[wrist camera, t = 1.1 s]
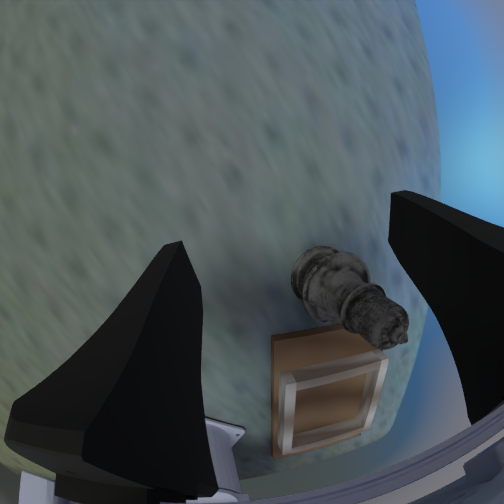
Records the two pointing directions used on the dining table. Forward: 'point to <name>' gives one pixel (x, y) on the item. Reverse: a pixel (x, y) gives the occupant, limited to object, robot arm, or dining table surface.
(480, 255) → the robot arm
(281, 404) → the board
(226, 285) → the dining table surface
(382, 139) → the dining table surface
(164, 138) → the dining table surface
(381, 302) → the salt shaker
